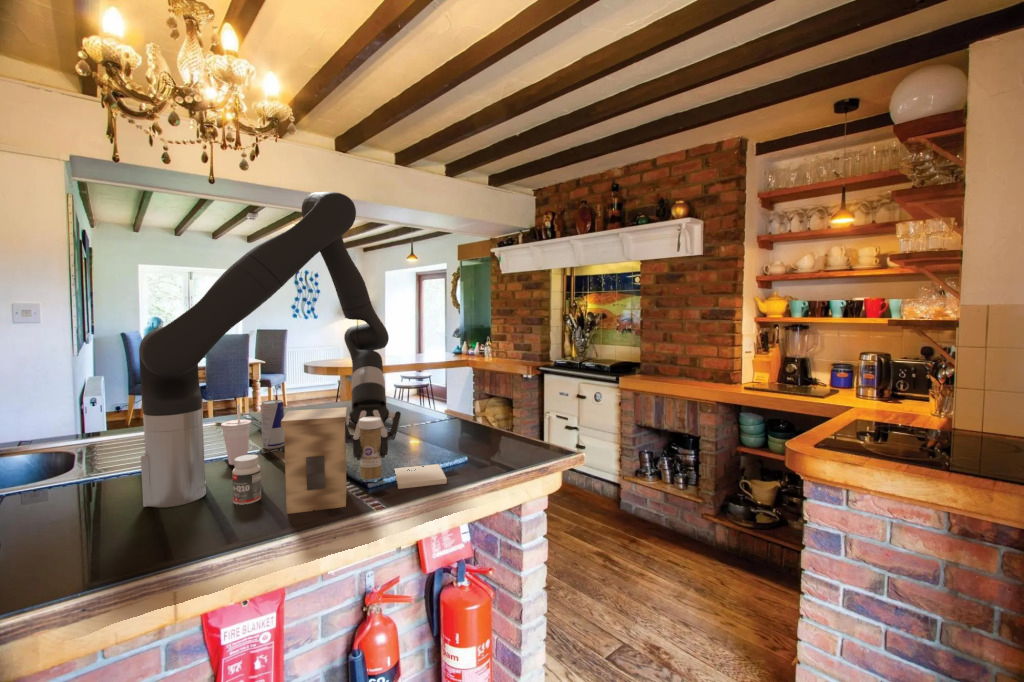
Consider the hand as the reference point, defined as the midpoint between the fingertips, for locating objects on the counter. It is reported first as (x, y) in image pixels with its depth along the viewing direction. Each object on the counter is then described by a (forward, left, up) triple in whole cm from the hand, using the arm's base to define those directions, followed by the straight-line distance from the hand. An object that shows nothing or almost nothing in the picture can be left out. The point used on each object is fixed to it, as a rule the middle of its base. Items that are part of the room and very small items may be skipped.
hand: (371, 456), depth 101 cm
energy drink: (-24, +36, -6) cm, 44 cm away
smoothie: (-30, +24, -6) cm, 39 cm away
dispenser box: (-10, -7, -6) cm, 13 cm away
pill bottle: (-23, -2, -6) cm, 24 cm away
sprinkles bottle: (0, +2, -6) cm, 6 cm away
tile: (+10, 0, -6) cm, 11 cm away
